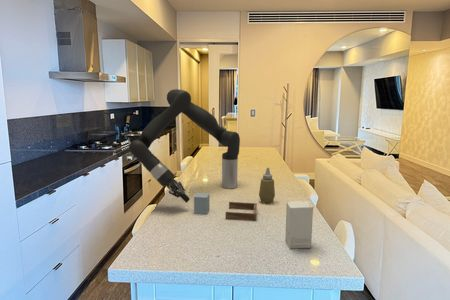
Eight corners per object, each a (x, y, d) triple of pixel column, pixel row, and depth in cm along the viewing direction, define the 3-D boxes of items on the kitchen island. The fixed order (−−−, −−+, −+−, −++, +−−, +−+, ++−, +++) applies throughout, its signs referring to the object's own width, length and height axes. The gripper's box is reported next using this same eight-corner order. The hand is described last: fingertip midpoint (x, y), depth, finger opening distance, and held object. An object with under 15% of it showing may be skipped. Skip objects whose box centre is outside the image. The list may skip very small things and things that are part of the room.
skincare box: (306, 240, 112) (308, 200, 110) (311, 249, 106) (314, 207, 103) (284, 240, 112) (286, 200, 109) (288, 249, 106) (290, 207, 103)
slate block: (197, 209, 143) (196, 192, 142) (209, 209, 142) (209, 193, 141) (194, 213, 137) (194, 196, 136) (207, 214, 136) (207, 197, 135)
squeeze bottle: (262, 205, 148) (263, 170, 145) (256, 200, 156) (257, 166, 153) (277, 204, 151) (278, 169, 147) (270, 199, 158) (272, 165, 155)
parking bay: (229, 207, 145) (229, 201, 144) (256, 209, 143) (256, 203, 143) (225, 219, 131) (225, 212, 131) (255, 221, 129) (255, 214, 129)
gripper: (162, 172, 132) (190, 200, 132) (172, 165, 145) (196, 191, 145) (151, 183, 133) (178, 211, 134) (161, 175, 146) (186, 201, 147)
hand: (188, 200), depth 140 cm, fingers closed
